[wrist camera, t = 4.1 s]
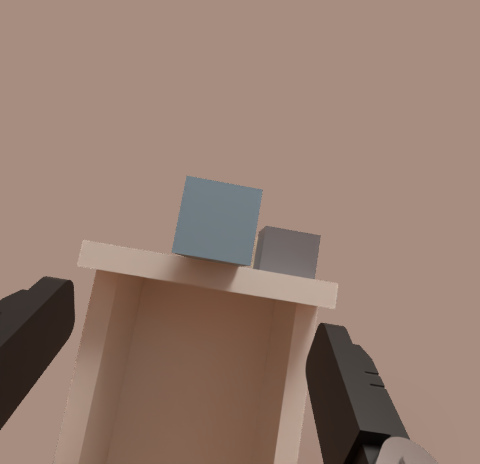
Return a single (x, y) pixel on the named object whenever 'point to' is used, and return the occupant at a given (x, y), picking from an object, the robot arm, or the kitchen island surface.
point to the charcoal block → (287, 252)
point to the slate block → (217, 222)
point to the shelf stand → (189, 362)
